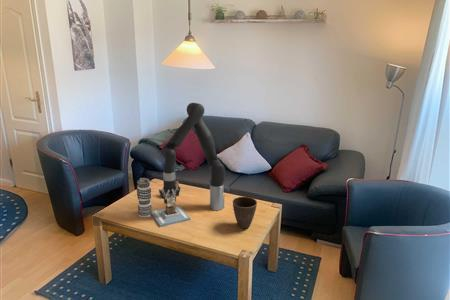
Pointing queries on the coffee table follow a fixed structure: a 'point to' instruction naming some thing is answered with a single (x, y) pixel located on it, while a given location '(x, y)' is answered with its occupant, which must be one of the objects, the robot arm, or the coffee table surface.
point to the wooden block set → (175, 189)
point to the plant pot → (244, 210)
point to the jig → (170, 216)
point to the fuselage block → (170, 210)
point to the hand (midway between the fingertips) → (170, 203)
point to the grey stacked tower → (144, 197)
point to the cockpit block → (170, 201)
